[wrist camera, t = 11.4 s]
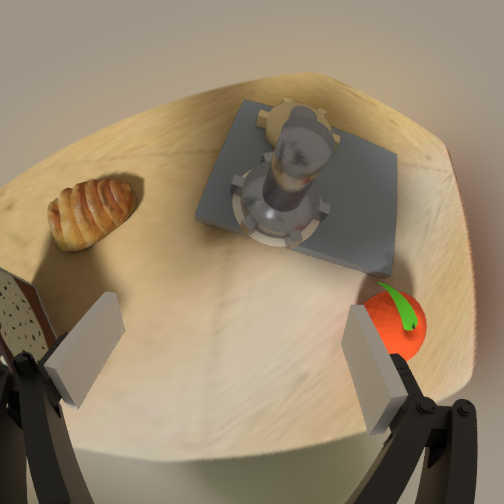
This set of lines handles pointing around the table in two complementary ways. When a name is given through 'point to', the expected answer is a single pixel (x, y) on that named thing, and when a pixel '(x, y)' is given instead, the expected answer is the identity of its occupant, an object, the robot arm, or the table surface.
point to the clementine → (398, 321)
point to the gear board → (328, 182)
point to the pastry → (89, 212)
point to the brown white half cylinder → (22, 320)
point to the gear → (286, 183)
